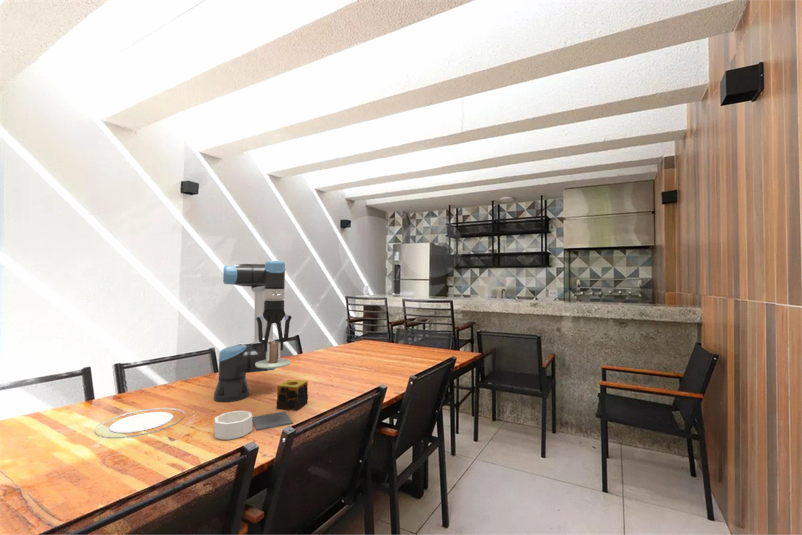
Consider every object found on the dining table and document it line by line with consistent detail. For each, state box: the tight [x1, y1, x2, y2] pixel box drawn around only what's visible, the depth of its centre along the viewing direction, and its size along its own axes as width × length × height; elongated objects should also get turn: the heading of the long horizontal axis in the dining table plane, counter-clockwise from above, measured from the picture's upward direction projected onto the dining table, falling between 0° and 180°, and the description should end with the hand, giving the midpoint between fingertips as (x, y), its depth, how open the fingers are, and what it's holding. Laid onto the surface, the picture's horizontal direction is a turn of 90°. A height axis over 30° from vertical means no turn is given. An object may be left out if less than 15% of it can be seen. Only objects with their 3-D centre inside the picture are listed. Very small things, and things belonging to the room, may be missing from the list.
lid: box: [255, 340, 291, 369], centre depth 139 cm, size 13×13×9 cm
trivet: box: [252, 410, 294, 432], centre depth 138 cm, size 13×13×1 cm
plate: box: [94, 407, 186, 439], centre depth 136 cm, size 28×28×1 cm
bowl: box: [213, 410, 253, 441], centre depth 127 cm, size 12×12×6 cm
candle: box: [275, 379, 309, 411], centre depth 155 cm, size 10×10×10 cm
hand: (273, 359), depth 139 cm, fingers closed on lid, 3 cm apart
